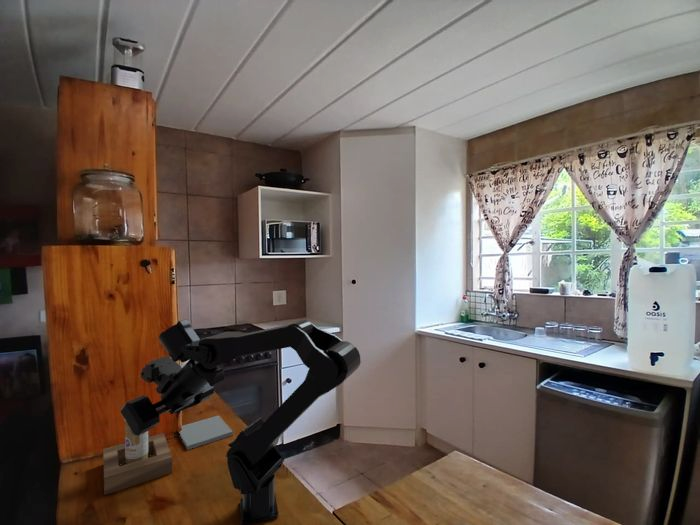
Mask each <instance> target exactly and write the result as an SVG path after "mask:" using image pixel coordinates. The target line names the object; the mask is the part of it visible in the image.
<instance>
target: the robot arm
mask: <svg viewBox="0 0 700 525" xmlns="http://www.w3.org/2000/svg"><path fill="white" fill-rule="evenodd" d="M158 340H159V342H160V343H161V345H162V346H163V348H164V349H165V350H166V353H167V354H168V355H169V356H163V357H158V358H156V359H154V360H151V361H150V362H149V363H146V364H145V366H144V367H142V369H141V372H140V378H141V379H142V380H144V381H145V382H146V383H147V384H150V383H154V384H155V385H156V386H157V387H155V391H156V393H157V394H158V395H159V394H161V395H160V400H159V401H156V402H155V403H152V401H151V400H150V397H149V396H147V395H140V396H138V397H136V398H133V399H132V400H129V401H126V403H125V404H124V405H122V407H121V409H120V413H121V416H122V417H123V419H125V420H126V422H127V424H128V425H129V427H130V432H131V433H132V435H138V436H139V435H141V434H143V433H145V432H147V431H148V432H149V431H150V430H153V429H154V428H155V427H156V426H157V425H158V424H159V423H160V419H161V418H160V416H161V415H162V414H165V413H167V412H168V413H169V414H170V415H174V414H176V413H179V412H182V411H184V410H186V409H190V408H193V407H195V406H197V405H199V404H200V403H202V402H204V401H206V400H208V399H209V398H211V396H213V394H215V388H214V386H216V385H218V384H220V383H222V382H224V381H225V380H226V377H225V374H224V368H220V366H221V365H223V364H227V363H228V362H231V361H233V360H235V359H238V358H240V357H243V356H250V355H254V354H259V353H260V354H261V353H265V352H270V351H275V350H276V351H277V350H282V349H286V348H291V349H293V350H294V351H295V352H296V354H297V355H298V357H299V358H300V360H301V363H303V365H304V366H305V367H306V368H308V371H307V374H306V375H305V378H304V380H303V381H302V383H301V384H300V385H299V386H297V387H296V389H295V390H294V391H293V392H292V393H291V394H290V395H288V397H287V399H286V400H285V401H283V402H282V403H281V405H280V406H279V407H277V409H276V410H275V411H274V412H273V413H272V414H271V415H270V416H269V417H268V418H267V419H266V420H265V421H263V419H262V417H261V416H260V417H258V418H257V419H256V420H255V421H253V422H252V423H250V424H249V425H248V426H247V427H245V428H244V429H242V430H241V431H240V432H239V434H238V435H237V437H236V438H235V439H234V440H232V441H230V442H229V443H228V444H227V446H228V447H229V448H228V450H227V452H226V453H225V454H226V455H225V456H226V462H227V467H228V472H229V475H230V478H231V482H232V486H233V488H234V489H236V490H238V491H239V493H240V494H241V495H242V498H240V500H239V502H240V503H239V504H240V505H239V506H240V525H251V524H255V523H259V522H264V521H268V520H273V519H277V518H278V517H279V510H278V503H277V498H276V492H275V482H276V481H275V474H276V473H277V472H278V471H279V469H282V467H283V465H284V462H285V457H284V455H283V454H282V453H281V452H280V450H279V448H278V447H277V444H279V439H280V437H281V436H282V435H283V434H284V433H285V432H286V431H287V430H288V429H289V428H290V427H292V425H293V424H294V423H295V422H296V421H297V420H298V419H299V418H301V416H302V415H303V414H304V413H305V412H306V411H307V410H308V409H309V408H310V407H311V406H312V405H313V404H314V403H315V402H316V401H317V400H318V399H319V398H320V397H322V396H324V395H325V394H327V393H329V392H331V391H332V390H334V389H335V388H337V387H338V386H340V385H341V384H343V383H344V382H345V381H346V380H347V379H348V378H349V377H350V376H352V374H353V373H355V372H356V371H357V370H358V369H359V367H360V365H361V364H362V362H361V355H360V354H361V353H360V352H359V350H358V348H357V347H356V346H355V345H354V344H353V343H351V342H349V341H345V340H342V339H341V338H340V337H339V336H337V335H336V334H334V333H331V332H329V331H327V330H324V329H322V328H319V327H318V326H316V325H315V324H314V323H313V322H311V321H308V320H305V319H302V320H301V319H300V320H299V321H296V322H293V323H290V324H284V325H279V326H276V327H270V328H266V329H261V330H256V331H253V332H251V331H250V332H242V331H224V332H221V333H219V334H218V333H217V334H214V335H211V336H207V337H203V338H200V337H199V335H198V334H197V333H196V331H195V330H194V329H193V327H192V324H191V323H190V322H189V320H188V319H182V320H179V321H178V322H177V323H176V324H174V325H172V326H170V327H168V328H167V329H165V330H164V331H161V333H159V335H158ZM171 358H172V359H171ZM179 360H180V361H181V362H186V361H188V360H189V361H188V362H187V363H186V364H185V365H184V366H183V368H181V366H180V365H179V364H178V363H177V361H179ZM125 420H124V421H125Z"/></svg>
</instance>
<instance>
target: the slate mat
mask: <svg viewBox="0 0 700 525" xmlns="http://www.w3.org/2000/svg"><path fill="white" fill-rule="evenodd" d="M181 426H182V430H181V431H180V432H179V433H180V436H179V438H180V437H181V438H180V440H181V439H182V440H181V442H182V443H183V445H184V447H185V449H186V450H187V451H189V450H192V448H193V449H195V448H198V447H201V445H202V446H204V445H208V444H210V443H213V442H217V441H219V440H223V439H226V438H228V437H231V436H234V435H233V430H232V428H230V426H229V425H228V424H227V423H226V422H225V421H224V420H223V418H222V417H221V416H220V415H215V416H213V417H208V418H205V419H200V420H198V421H195V422H191V423H187V424H183V425H181Z"/></svg>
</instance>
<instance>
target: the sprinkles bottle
mask: <svg viewBox="0 0 700 525" xmlns="http://www.w3.org/2000/svg"><path fill="white" fill-rule="evenodd" d="M123 419H124V418H123ZM124 423H125V426H124V427H125V428H124V429H125V431H124V432H125V438H124V441H125V442H124V443H125V458H126V462H125V463H126V464H125V465H127V464H130V463H133V462H137V461H140V460H143V459H147V458H149V457H148V437H149V431H147V432H145V433H143V434H141V435H139V436H138V435H132V433H131V432H130V427H129V425H128V424H127V422H126V420H125V419H124Z"/></svg>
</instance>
